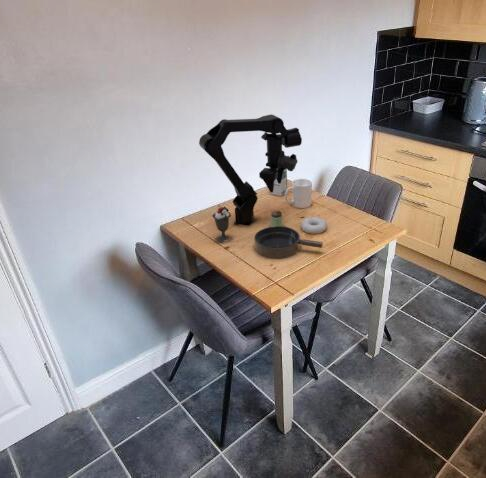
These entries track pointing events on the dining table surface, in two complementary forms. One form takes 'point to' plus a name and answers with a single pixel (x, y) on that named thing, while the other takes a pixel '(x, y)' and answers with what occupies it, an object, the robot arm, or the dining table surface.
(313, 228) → the donut
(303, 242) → the handle
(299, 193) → the cup
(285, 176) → the syrup box
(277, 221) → the spice jar
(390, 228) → the dining table surface
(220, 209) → the sundae
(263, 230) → the black frying pan
